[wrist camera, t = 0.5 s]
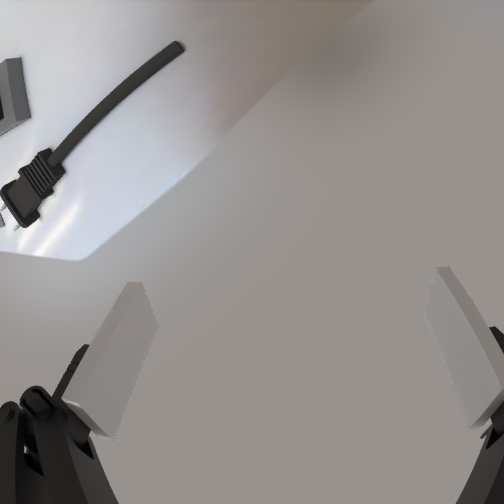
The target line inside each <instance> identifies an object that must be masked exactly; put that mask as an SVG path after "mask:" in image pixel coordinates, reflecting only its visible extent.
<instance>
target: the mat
mask: <svg viewBox="0 0 504 504" xmlns="http://www.w3.org/2000/svg"><path fill="white" fill-rule="evenodd" d="M4 226H5V223H4V221H3V218H2V216H1V213H0V227H4Z"/></svg>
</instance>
